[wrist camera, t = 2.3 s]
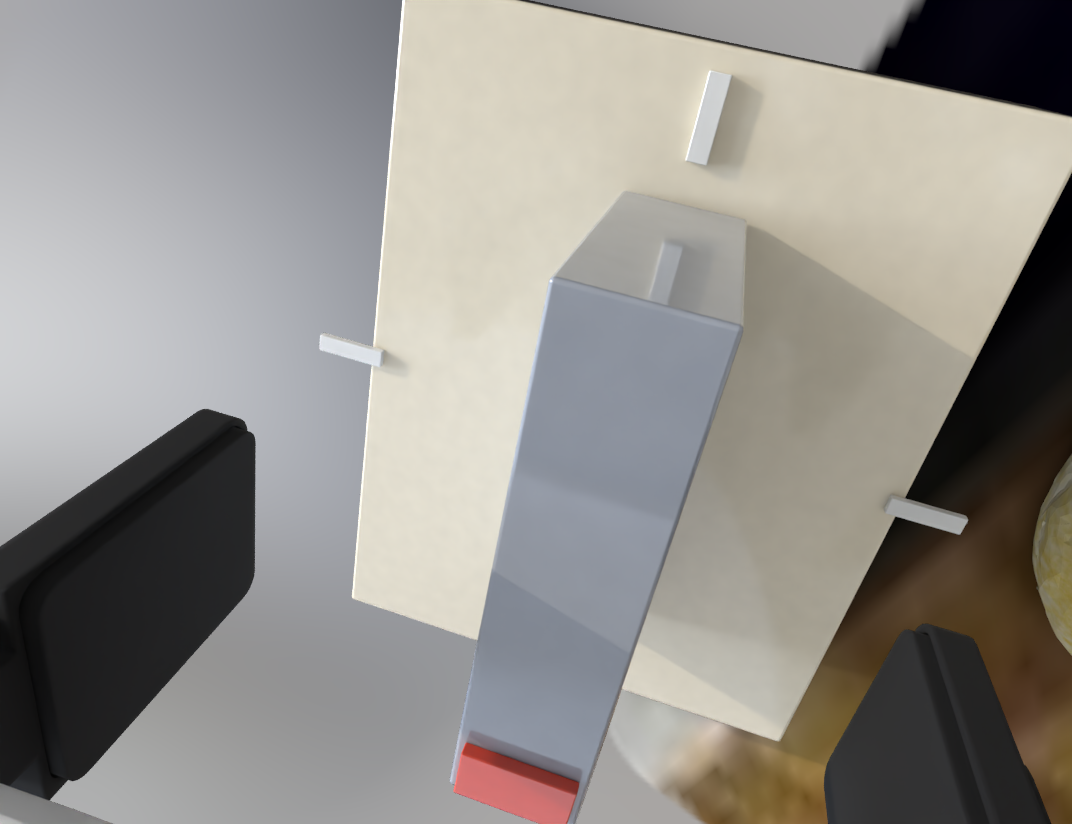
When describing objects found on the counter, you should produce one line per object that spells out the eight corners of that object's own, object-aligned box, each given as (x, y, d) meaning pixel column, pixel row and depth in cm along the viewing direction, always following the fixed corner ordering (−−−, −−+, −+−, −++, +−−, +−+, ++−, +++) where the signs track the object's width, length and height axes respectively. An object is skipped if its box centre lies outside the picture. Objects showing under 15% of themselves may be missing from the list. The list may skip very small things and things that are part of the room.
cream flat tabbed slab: (411, -26, 15) (337, -38, 13) (1097, 119, 14) (1185, 141, 11) (363, 521, 22) (307, 590, 19) (817, 666, 20) (827, 766, 17)
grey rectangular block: (623, 188, 13) (543, 281, 8) (748, 219, 13) (745, 335, 8) (531, 579, 17) (442, 798, 12) (623, 609, 17) (570, 844, 12)
